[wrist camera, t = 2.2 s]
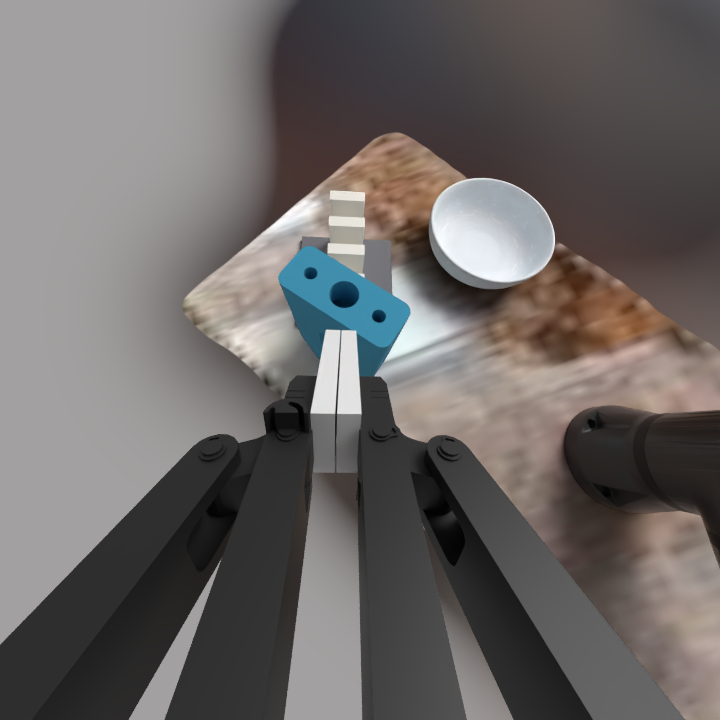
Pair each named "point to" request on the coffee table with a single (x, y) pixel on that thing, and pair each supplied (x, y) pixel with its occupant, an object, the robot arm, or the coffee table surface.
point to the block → (342, 306)
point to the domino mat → (365, 259)
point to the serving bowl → (490, 233)
